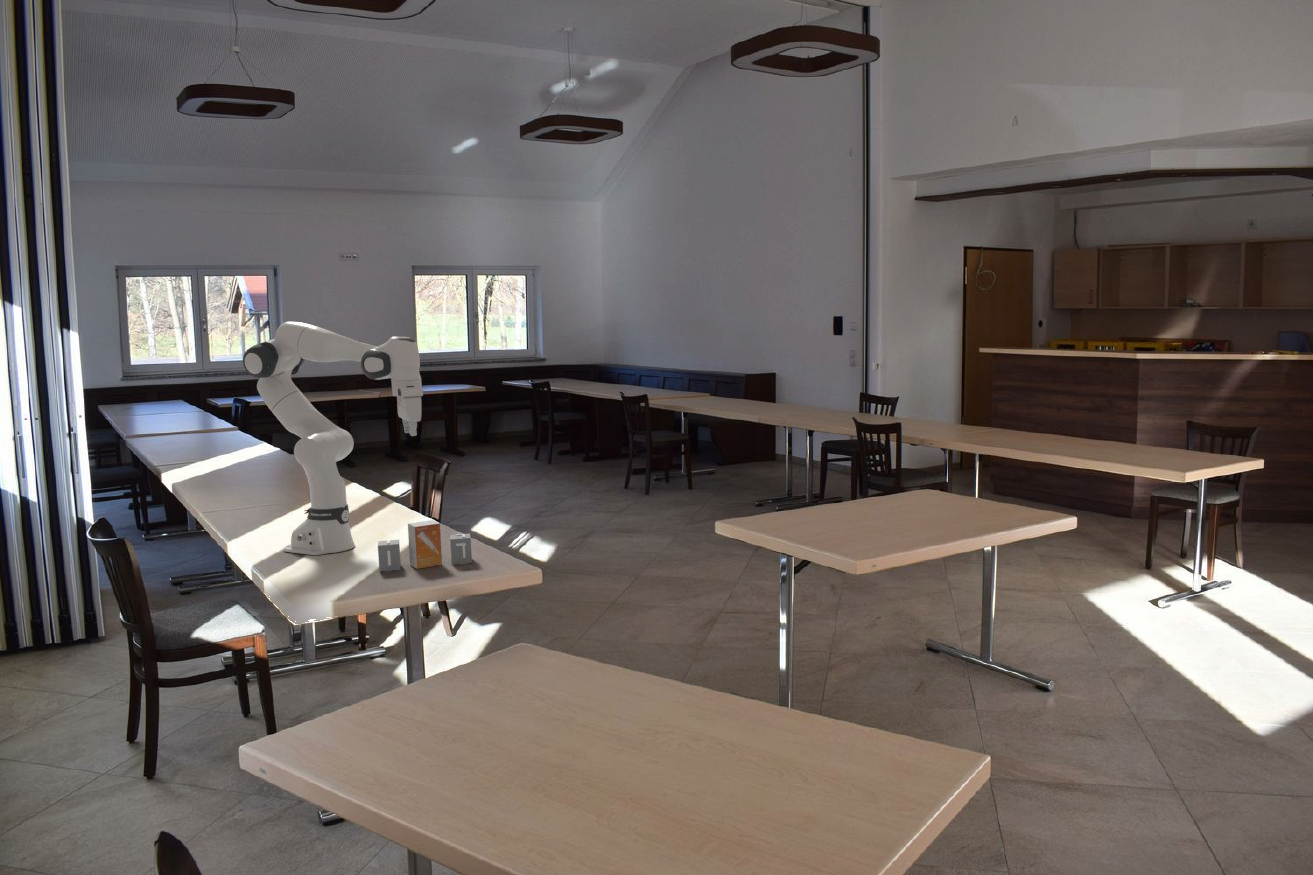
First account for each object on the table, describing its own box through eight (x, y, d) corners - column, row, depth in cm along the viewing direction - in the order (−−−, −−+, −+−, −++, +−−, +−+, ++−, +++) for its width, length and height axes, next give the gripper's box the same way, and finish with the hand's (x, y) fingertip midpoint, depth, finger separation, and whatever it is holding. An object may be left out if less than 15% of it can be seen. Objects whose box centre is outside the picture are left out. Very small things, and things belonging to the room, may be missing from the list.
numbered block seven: (451, 565, 293) (450, 538, 292) (451, 560, 299) (449, 534, 298) (472, 563, 295) (470, 537, 294) (471, 558, 301) (469, 532, 300)
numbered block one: (379, 572, 288) (377, 544, 287) (380, 566, 294) (378, 540, 293) (400, 570, 289) (398, 543, 288) (400, 565, 295) (399, 538, 294)
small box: (417, 569, 290) (414, 526, 288) (409, 565, 295) (407, 523, 293) (442, 564, 294) (440, 522, 292) (435, 560, 299) (432, 519, 298)
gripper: (391, 388, 305) (394, 432, 307) (402, 392, 286) (405, 438, 288) (411, 387, 307) (414, 430, 309) (423, 390, 289) (427, 436, 291)
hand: (410, 434), depth 298 cm, fingers open, 8 cm apart
